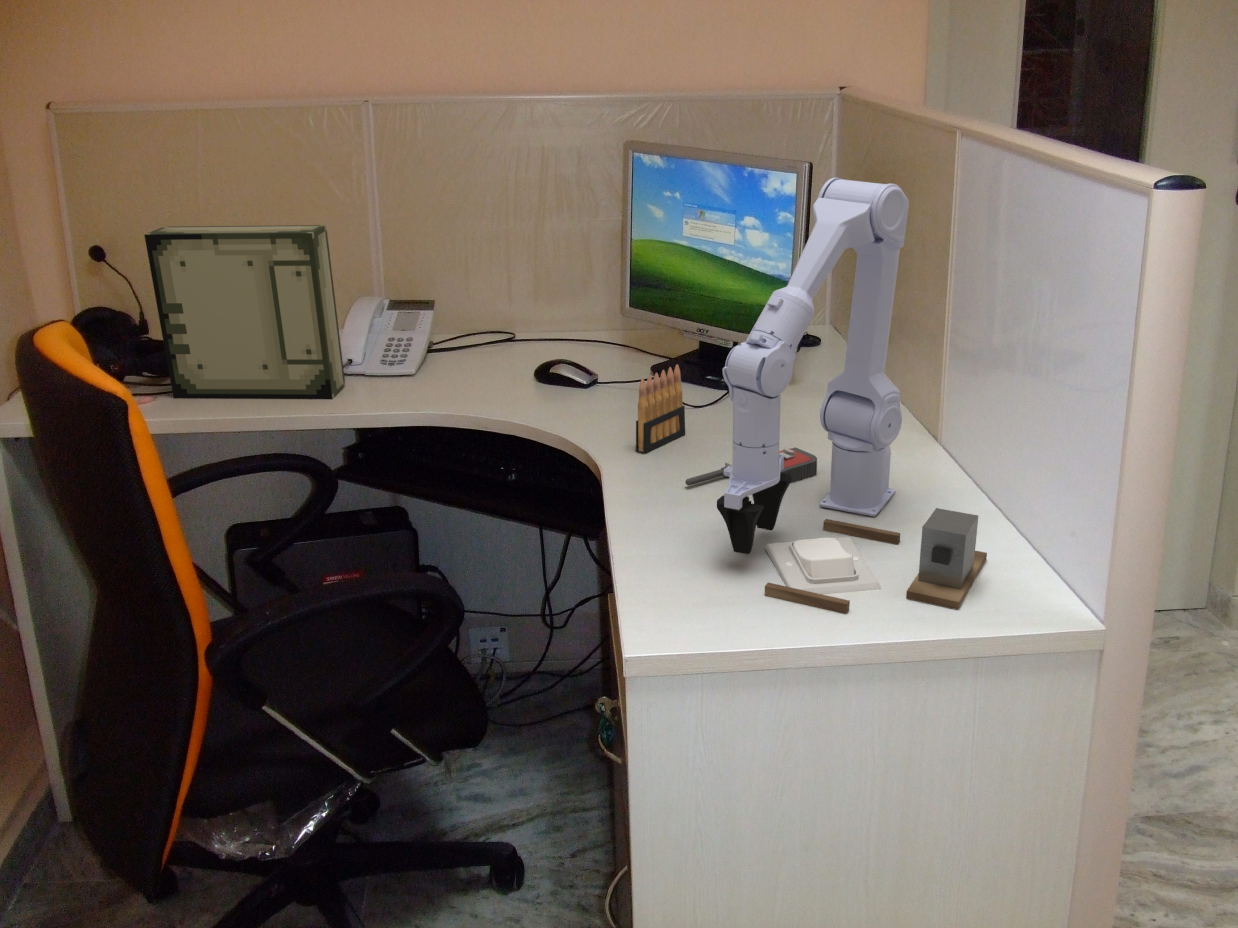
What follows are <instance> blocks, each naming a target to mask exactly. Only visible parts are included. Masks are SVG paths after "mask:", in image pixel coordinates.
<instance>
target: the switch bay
mask: <svg viewBox="0 0 1238 928" xmlns="http://www.w3.org/2000/svg"><path fill="white" fill-rule="evenodd" d="M822 522H823V523H822V524H823V525H822V531H826V532H831V533H837V534H842V535H845V536H853V537H856V538H861V539H862V538H863V539H867V540H872V541H877V542H883V543H888V544H893V545H899V543H900V541H901V532H896V531H892V530H886V529H881V528H876V527H871V526H866V525H861V524H856V523H851V522H845V521H839V520H835V519H834V520H833V519H828V518H825V519H824V520H823V521H822ZM764 596H767V597H772V598H775V599H780V600H784V601H789V602H793V603H799V604H803V605H808V606H811V607H816V608H819V609H825V610H829V611H834V612H836V613H843V614H848V612H849V611H850V607H851V606H850V601H851V600H850V599H849V600H848V599H844V598H839V597H835V596H832V595H828V594H818V593H813V592H809V591H804V590H800V589H795V588H791V587H787V586H786V585H782V584H776V583H772V582H767V583H766V584H765V585H764Z"/></svg>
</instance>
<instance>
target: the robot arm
mask: <svg viewBox="0 0 1238 928" xmlns="http://www.w3.org/2000/svg"><path fill="white" fill-rule="evenodd" d="M909 207H910V200H909V199H908V196H906V194H905V193H904V191H903V189H902V188H901V187H900V185H898V184H896V183H878V182H868V181H861V180H860V181H859V180H850V179H844V178H840V177H832V178H830V179H828V180H827V181H826V182H825V183H823V186H822V187H821V189H820V191H819V193H818V195H817V198H816V201H815V202H814V203H813V206H812V214H813V215H812V216H813V223H814V225H813V228H812V230H811V233H810V234H809V237H808V239H807V241H806V243H805V245H804V247H803V250H802V252H801V254H800V257H799V259H798V261H797V263H796V265H795V267H794V269H793V272H792V274H791V276H790V278H789V280H788V283H787V285H786V286H785V287H782V288H779V289H776V290H774V291H773V292H772V293H771V295H770V296H769V299H768V300H767V302H766V304H765V306H764V307H763V309H762V312H761V313H760V315H759V316H758V318H757V320H756V322H755V323H754V325H753V327H752V329H751V330H750V333H749V334H748V336H747V338H746V340H745V341H742V342H741V343H739V344H737V345H736V346H733V348H731V350H730V351H729V353H728V355H727V357H726V360H725V364H724V367H723V368H722V377H723V379H724V382H725V383H726V385H727V386H728V391H729V392H728V396H729V399H730V401H731V403H732V460H731V461H732V466H728V467H727V468H726V469H724V475H725V476H724V477H729V479H728V480H729V481H728V486H727V488H726V491H725V492H724V493H723V494H724V495H721V496H720V497H719V498H718V499H717V500H716V509H717V510H718V512H719V513H720V515H721V517H722V518H723V521H724V522H725V525H726V527H727V528H726V529H727V531H728V534H729V539H730V543H731V547H732V549H733V552H734V553H739V554H744V555H749V554H750V553H751V552H752V550H753V546H754V540H755V532H756V528H757V529H761V530H767V531H773V530H775V526H776V524H777V519H778V515H779V512H780V508H781V504H782V501H783V498H784V496H785V494H786V491H787V490H788V488H789V486H790V483H791V481H792V477H791V475H788V474H784V473H780V472H781V471H782V470H783V469H784V455H781V454H779V451H780V436H781V435H780V433H781V431H780V430H781V404H782V402H781V400H782V399H781V398H782V395H781V394H782V393H783V392H784V391H785V390H786V388H787V387H788V385H789V384H790V383H791V381H792V377H793V371H794V363H795V361H796V357H797V354H796V353H795V351H796V349H797V347H798V346H799V344H800V342H801V340H802V338H803V336H804V334H805V333H806V331H807V329H808V327H809V325H810V324H811V322H812V320H813V318H814V316H815V313H816V312H815V307H814V303H813V302H814V301H813V299H814V297H815V295H817V293H818V291H819V289H821V287H822V286H823V284H824V282H825V280H827V277H828V276H829V274H830V273H831V272H832V270H833V269H834V267H835V266H836V264H837V263H838V262H839V260H840V258H841V257H842V255H843V253H844V252H845V250H847V249H853V250H854V251H855V253H856V264H855V273H854V274H855V275H854V281H853V289H852V297H851V299H852V300H851V309H850V316H849V326H848V333H847V341H846V342H847V343H846V351H845V360H844V368H843V371H842V372H841V373H840V374H837V376H834V377H833V378H832V379H830V380H829V381H828V382H827V388H826V392H825V393H826V394H825V397H824V399H823V400H822V401H823V402H822V404H821V406H820V411H819V420H820V424H821V427H822V428H823V430H825V431H826V432H827V440H829V441H831V442H832V444H831V445H832V446H831V464H830V481H829V482H830V484H829V485H830V486H829V492H828V493H827V494H826V495H825V496H824V497H823V499H822V500H820V502H819V507H822V508H827V509H830V510H832V509H833V510H836V511H841V512H842V511H843V512H848V513H853V514H858V515H864V516H867V517H868V516H869V517H876V516H877V515H879V513H880V511H881V510H882V509H883V508H884V507H885V506H886V504H887V503H888V502H889V500H890V499H891V498H892V497H893V496H894V494H895V493H896V489H894V488H890V486H889V485H890V474H891V473H890V469H891V455H892V452H891V446H890V445H892V444H893V442H894V441H895V440H896V439H897V438H898V435H899V433H900V431H901V428H902V425H903V423H902V422H903V414H902V410H901V395H902V393H901V391H900V389H899V388H898V387H897V386H896V384H894V383H893V382H892V381H891V379H890V378H889V377H888V375H887V374H886V366H887V365H886V364H887V357H888V349H889V339H890V333H891V324H892V317H893V309H894V300H895V293H896V284H897V279H898V278H897V276H898V269H899V262H900V261H899V260H900V252H901V249H902V248H903V247H904V246H905V241H906V240H905V238H906V230H907V223H908V215H909ZM791 484H792V483H791ZM751 495H752V500H753V503H752V500H750V496H751Z"/></svg>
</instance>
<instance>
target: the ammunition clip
mask: <svg viewBox="0 0 1238 928" xmlns="http://www.w3.org/2000/svg"><path fill="white" fill-rule="evenodd" d="M681 375H682V374H681V369H680V366H679V364H678V363H677V364H676V365H675V367H674V370H673V369H672V367H671V366H669V368H668V369H667V374H666V370H665V369H662V371H661V373H660V375H659V374H658V372H655V374H654V377H653V378H652V376H651V375H648V376H647V379H646V381H645V379H644V377H642V378H641V380H640V383H639V387H638V388H639V389H638V404H637V420H635V452H636V453H639V454H644V455H647V454H649V453H651V452H653V451H656V450H657V449H659V448H661V447H663V446H666V445H667V444H669V443H673V442H675V440H678V439H680V438H682V437H684V436H686V418H685V417H686V416H685V415H686V413H685V412H686V410H685V405H684V404H683V387H682V378H681V377H682V376H681ZM659 376H660V377H659Z"/></svg>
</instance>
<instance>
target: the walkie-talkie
mask: <svg viewBox="0 0 1238 928" xmlns="http://www.w3.org/2000/svg"><path fill="white" fill-rule="evenodd" d="M779 454H781V455H784V469H783V470H782V471H781V472H780V473H784V474H788V475H791V477H792V481H791V483H790V484H791V485H792V484H793V483H796V482H800V481H803V480H806V479H809V478H813V477H817V471H818V470H817V469H818V468H817V467H818V457H817V456H816V455H815V454H812V453H811V452H807V451H805V450H803V449H801V448H798V447H793V448H792V447H791V448H787V447H784V448H782V450H779ZM732 461H733V460H728V461H726V462H725V463H724V467H721V468H720V469H718V470H713V471H710V472H707V473H704V474H700V475H699V474H698V475H697V476H692V477H690V478H687V479H685V485H686V486H688V487H689V486H693V485H695V484H699V483H703V482H706V481H711V480H713V479H716V478H721V477H726V476H725V475H724V469H726V468H727V467H728V466H732Z"/></svg>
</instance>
